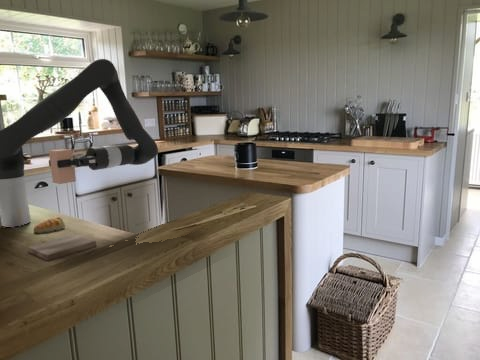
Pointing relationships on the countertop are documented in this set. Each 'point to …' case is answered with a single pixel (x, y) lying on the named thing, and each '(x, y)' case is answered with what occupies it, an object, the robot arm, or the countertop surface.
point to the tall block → (66, 172)
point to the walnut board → (61, 246)
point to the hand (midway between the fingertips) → (53, 163)
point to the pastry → (50, 225)
